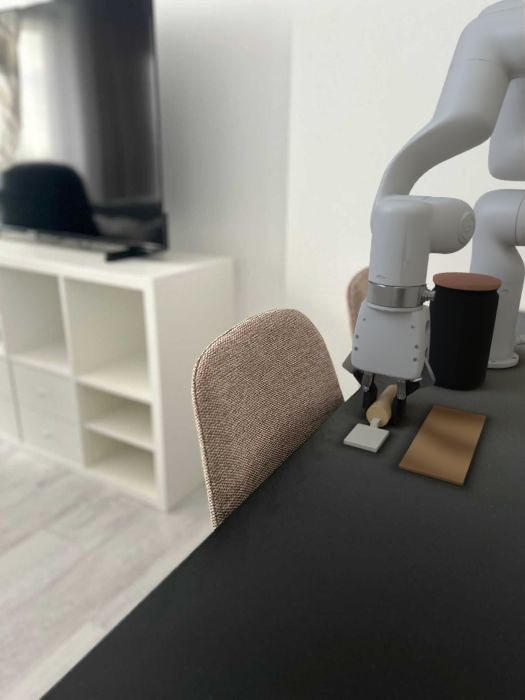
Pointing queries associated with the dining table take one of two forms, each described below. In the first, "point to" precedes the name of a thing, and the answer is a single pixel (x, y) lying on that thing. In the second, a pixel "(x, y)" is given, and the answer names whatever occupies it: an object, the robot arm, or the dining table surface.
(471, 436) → the wooden board
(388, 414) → the spatula
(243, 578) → the dining table surface
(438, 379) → the coffee jar
